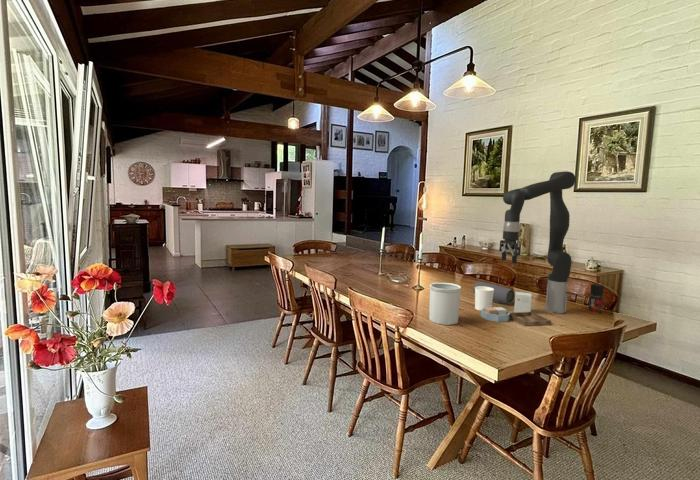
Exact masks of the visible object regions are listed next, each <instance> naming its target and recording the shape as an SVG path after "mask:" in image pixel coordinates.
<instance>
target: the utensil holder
mask: <svg viewBox="0 0 700 480" xmlns="http://www.w3.org/2000/svg"><path fill="white" fill-rule="evenodd" d="M461 291H462V286H461V285H459V284H456V283H451V282H450V283H449V282H432V283H430V284H429V308H428V309H429V313H428V314H429V316H428V317H429V319H428V320H429V321H430V322H432V323H434V324H437V325H444V326H451V325H457V324H458V322H459V315H460V299H461Z"/></svg>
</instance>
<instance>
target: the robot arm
mask: <svg viewBox="0 0 700 480" xmlns="http://www.w3.org/2000/svg"><path fill="white" fill-rule="evenodd" d="M575 183H576V175H575V174H574V172H572V171H566V170H565V171H556V172H553V173H552V174H551V175H550V176H549V179H548V180H545V181H544V180H543V181H540V182H536V183H532V184H529V185H526V186H524V187H521V188H516V189H511V190H508V191H506V192H505V193H504V194H503V197H502V201H503V202H504V203H505V205H508V206H509V205H510V207H509V209H507V210H506V211H505V213H504V222H503V229H502V240H499V249H498V251H499V252H500V253H501V261H506V260H507V253H508V251H509V252H510V253H511V255H512V256H511V264H517V262H518V260H517V259H518V256H521V254H522V253H521V252H522V251H521V250H522V249H521V248H522V246H521V245H522V244H521V243H520V242H517V241H518V240H519V237H520V226H521V225H520V221H521V220H520V219H521V218H520V217H521V213H522V210H523V208H524V204H525V201H529V200H532V199H535V198H538V197H541V196H544V195H546V194H549V201H550V202H549V203H550V205H549V207H550V208H549V241H548V249H547V256H546V257H547V258H546V259H547V263H548V264H549V265H550V266H552V272H551V273H549V274H548V276H547V284H546V294H545V295H546V298H545V307H544V309H545V310H546V311H548V312H550V313H553V314H564V313H567V312H566V311H567V306H568V305H567V304H568V294H567V287H568V279H569V277H570V275H571V269H572V256H571V255H570V254H569V252H565V251H564V240H565V237H566V235H567V233H568V231H569V228H570V220H571V219H570V211H569V210H568V208H567V205H566V204H565V202H564V198H563V190H568V189H571V188H572V187H573V186H574V185H575Z"/></svg>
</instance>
